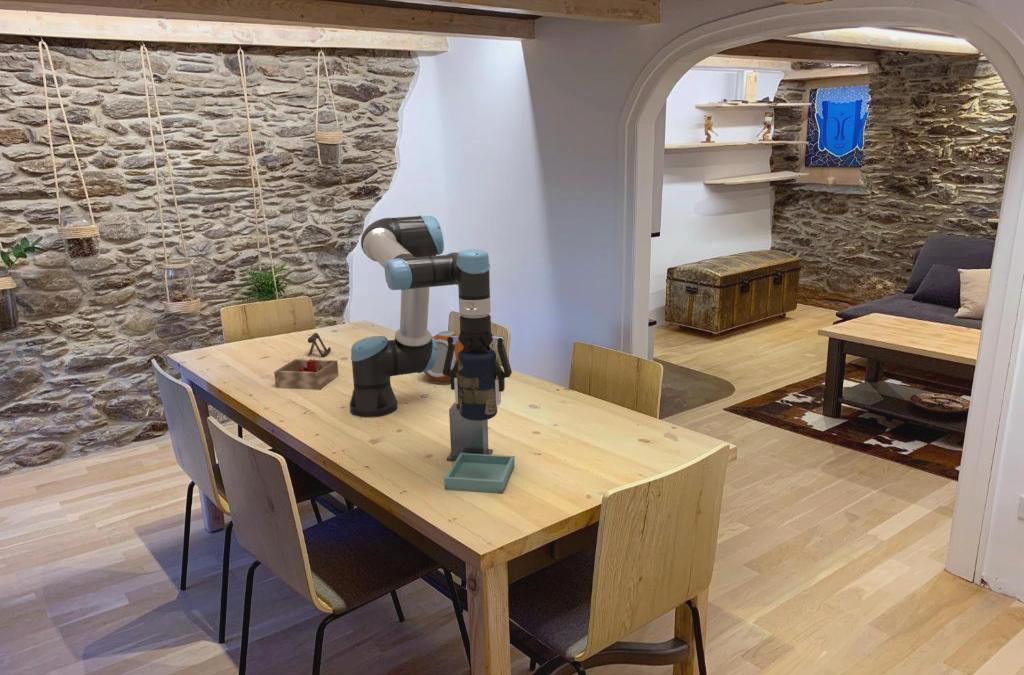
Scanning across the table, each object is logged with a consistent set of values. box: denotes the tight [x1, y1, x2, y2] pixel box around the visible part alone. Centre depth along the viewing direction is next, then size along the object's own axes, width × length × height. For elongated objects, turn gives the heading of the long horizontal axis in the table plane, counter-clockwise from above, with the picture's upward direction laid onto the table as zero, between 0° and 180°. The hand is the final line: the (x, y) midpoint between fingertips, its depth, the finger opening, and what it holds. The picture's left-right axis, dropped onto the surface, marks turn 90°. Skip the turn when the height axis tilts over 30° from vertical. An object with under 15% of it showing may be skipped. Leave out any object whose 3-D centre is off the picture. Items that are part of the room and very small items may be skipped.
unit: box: [446, 402, 494, 462], centre depth 201 cm, size 11×8×16 cm
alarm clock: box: [424, 330, 464, 385], centre depth 269 cm, size 19×18×17 cm
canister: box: [458, 348, 498, 421], centre depth 183 cm, size 10×10×18 cm
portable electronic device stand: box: [307, 332, 332, 358], centre depth 306 cm, size 9×8×8 cm
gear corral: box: [274, 358, 340, 390], centre depth 271 cm, size 17×16×6 cm
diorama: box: [298, 358, 322, 372], centre depth 272 cm, size 11×12×8 cm
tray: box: [443, 453, 515, 494], centre depth 189 cm, size 15×16×3 cm
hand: (478, 402), depth 185 cm, fingers closed on canister, 10 cm apart
